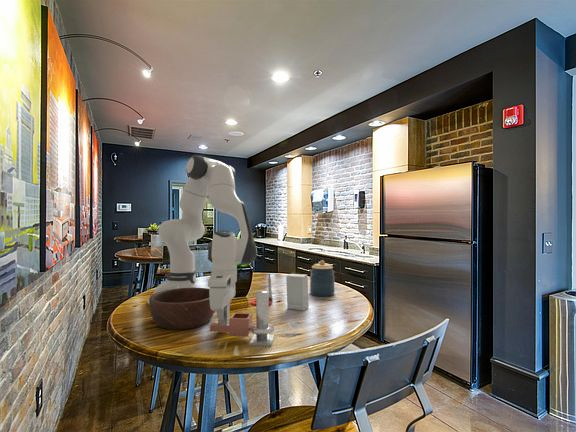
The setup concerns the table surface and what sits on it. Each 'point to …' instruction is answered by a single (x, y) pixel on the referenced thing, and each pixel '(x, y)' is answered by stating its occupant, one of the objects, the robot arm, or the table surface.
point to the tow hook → (269, 292)
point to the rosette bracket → (250, 323)
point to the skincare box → (297, 291)
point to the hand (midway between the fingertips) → (223, 316)
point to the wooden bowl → (181, 308)
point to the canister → (322, 279)
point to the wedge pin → (225, 315)
